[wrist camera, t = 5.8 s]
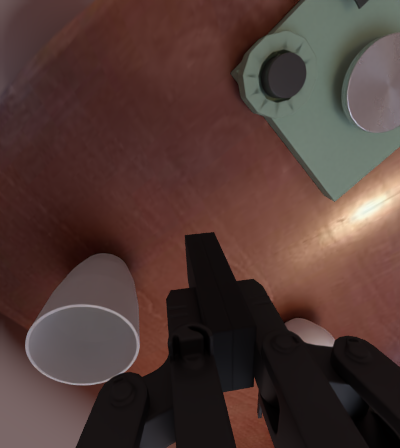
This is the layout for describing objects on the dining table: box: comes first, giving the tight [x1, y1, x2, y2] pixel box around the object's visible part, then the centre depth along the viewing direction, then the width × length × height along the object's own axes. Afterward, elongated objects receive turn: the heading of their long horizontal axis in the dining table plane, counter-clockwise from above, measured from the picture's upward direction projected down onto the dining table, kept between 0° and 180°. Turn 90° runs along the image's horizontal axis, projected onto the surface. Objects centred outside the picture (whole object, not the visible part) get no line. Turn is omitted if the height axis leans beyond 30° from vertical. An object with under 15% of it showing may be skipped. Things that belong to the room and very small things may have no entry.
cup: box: [25, 253, 139, 385], centre depth 26 cm, size 8×8×10 cm
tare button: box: [261, 52, 307, 98], centre depth 22 cm, size 3×3×2 cm
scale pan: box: [341, 0, 400, 133], centre depth 22 cm, size 12×9×1 cm
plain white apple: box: [285, 318, 335, 347], centre depth 35 cm, size 7×7×8 cm
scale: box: [231, 0, 400, 202], centre depth 25 cm, size 16×14×4 cm
